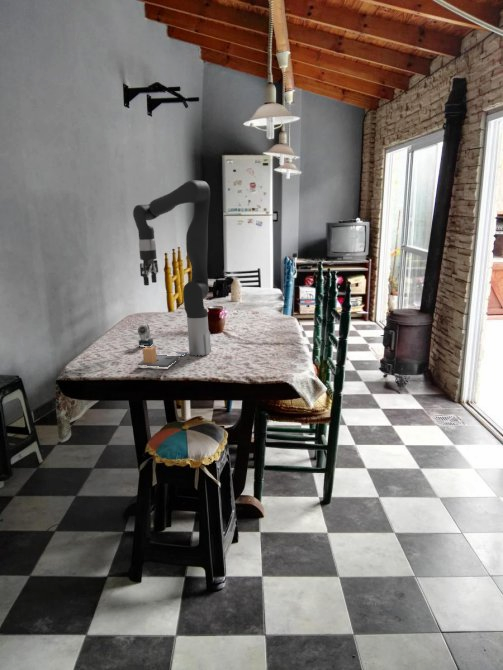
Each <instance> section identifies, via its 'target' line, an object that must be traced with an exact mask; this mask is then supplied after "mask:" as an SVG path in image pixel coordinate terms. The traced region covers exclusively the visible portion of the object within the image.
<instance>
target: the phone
mask: <svg viewBox="0 0 503 670" xmlns="http://www.w3.org/2000/svg"><path fill="white" fill-rule="evenodd" d="M172 351H173V350H172ZM173 352H176V353H178V354H181V356H182V355H184V354H186V355H188V354H189V351H173ZM187 353H188V354H187Z"/></svg>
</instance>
